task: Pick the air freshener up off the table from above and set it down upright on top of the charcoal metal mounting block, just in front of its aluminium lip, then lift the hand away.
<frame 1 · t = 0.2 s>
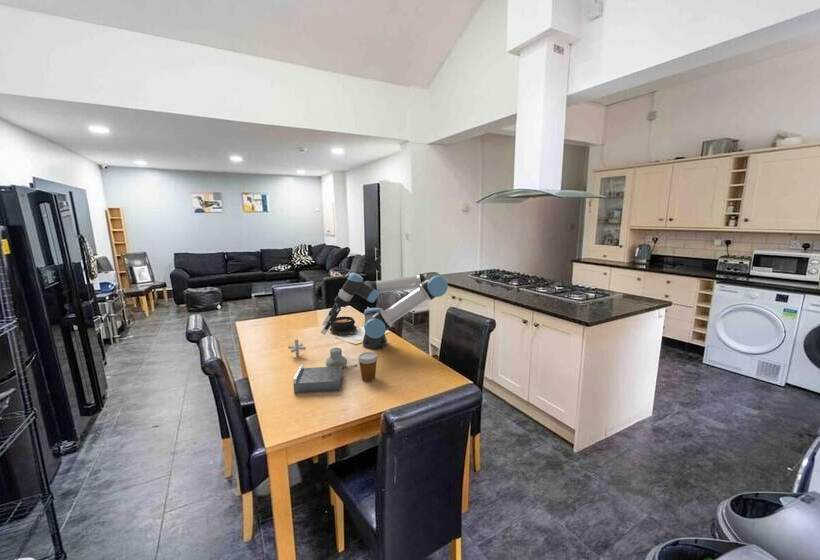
hand: (323, 329, 196), 16 cm above the table, tool tilted 35°, fingers open, 13 cm apart
disposable coffee cup: (368, 379, 170), on the table
mounting block: (319, 384, 165), on the table
casserole: (343, 331, 242), on the table
air freshener: (336, 367, 183), on the table
pipe connector: (297, 356, 199), on the table
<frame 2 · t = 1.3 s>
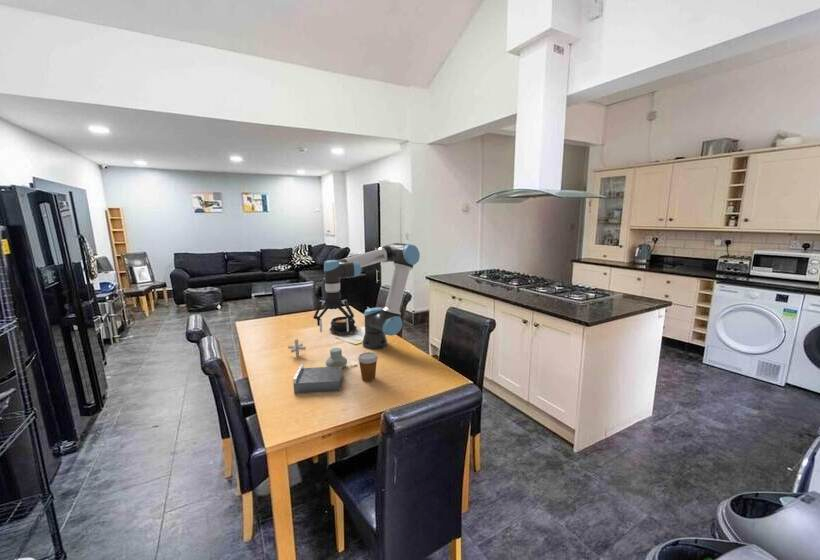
hand: (334, 331, 180), 20 cm above the table, tool pointing down, fingers open, 13 cm apart
nothing on the table moved.
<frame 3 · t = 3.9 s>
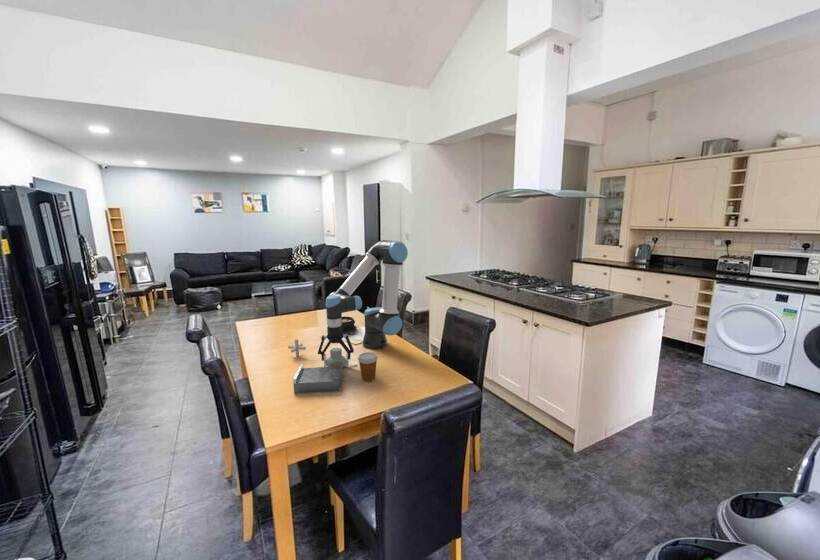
hand: (336, 365, 183), 1 cm above the table, tool pointing down, fingers closed on air freshener, 11 cm apart
air freshener: (336, 367, 183), on the table, touching gripper
everything else where it was.
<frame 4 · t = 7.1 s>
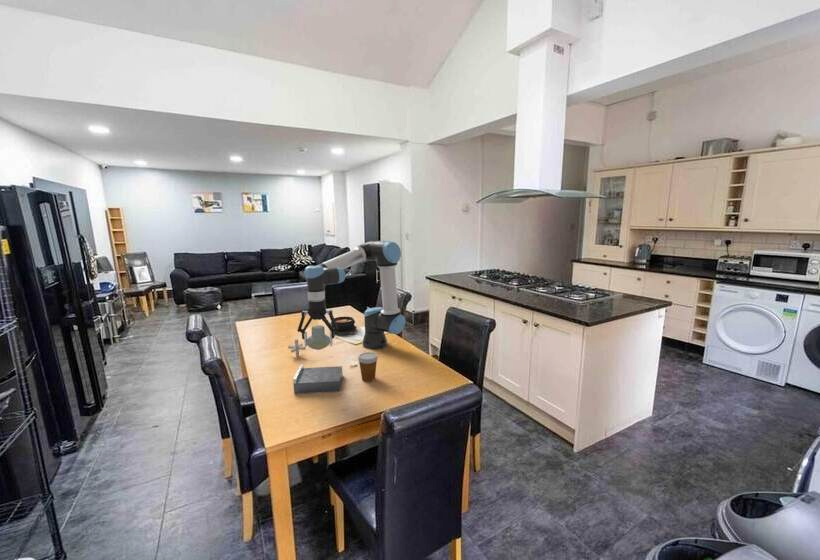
hand: (318, 345, 164), 19 cm above the table, tool pointing down, fingers closed on air freshener, 11 cm apart
air freshener: (318, 347, 164), point 17 cm above the table, touching gripper
everything else where it was.
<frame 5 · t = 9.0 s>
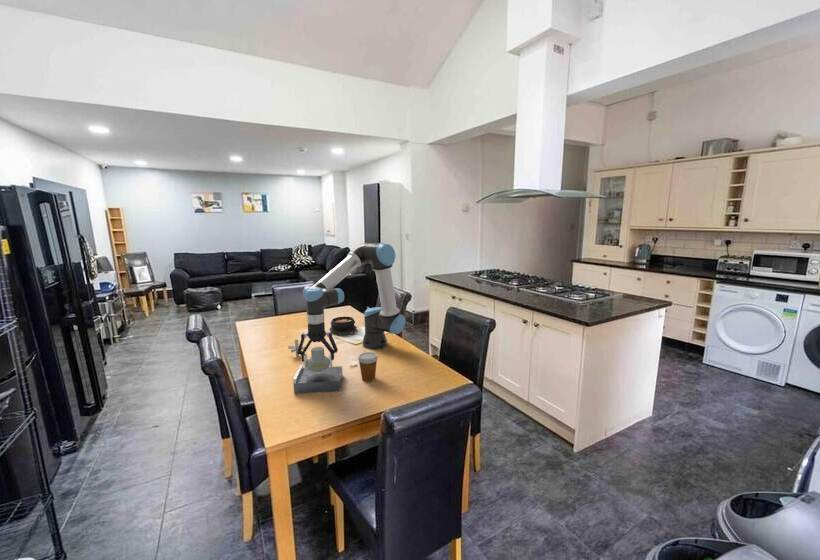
hand: (318, 367, 164), 9 cm above the table, tool pointing down, fingers closed on air freshener, 11 cm apart
air freshener: (318, 369, 164), point 7 cm above the table, touching gripper
everything else where it was.
when the fingers open (7 cm above the table, at t = 10.3 s): air freshener drops 1 cm, resting on mounting block.
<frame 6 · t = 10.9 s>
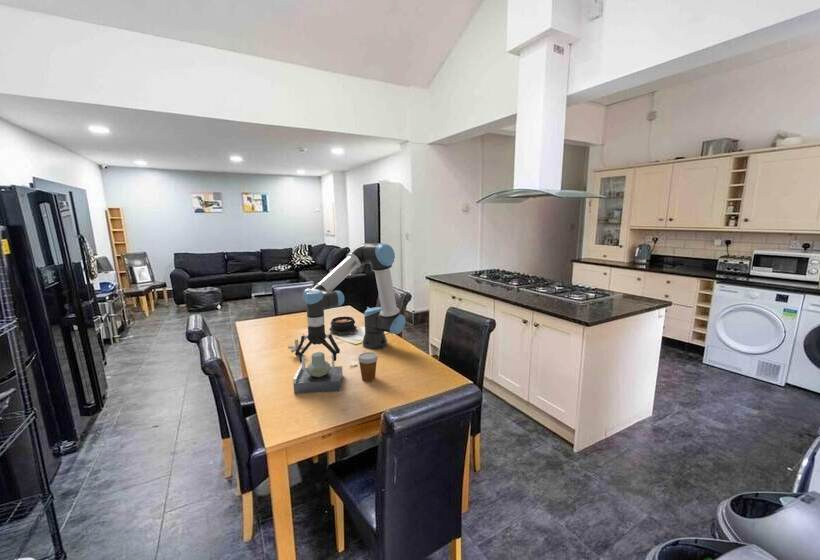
hand: (318, 368, 164), 8 cm above the table, tool pointing down, fingers open, 13 cm apart
air freshener: (319, 374, 164), point 5 cm above the table, touching mounting block
everything else where it was.
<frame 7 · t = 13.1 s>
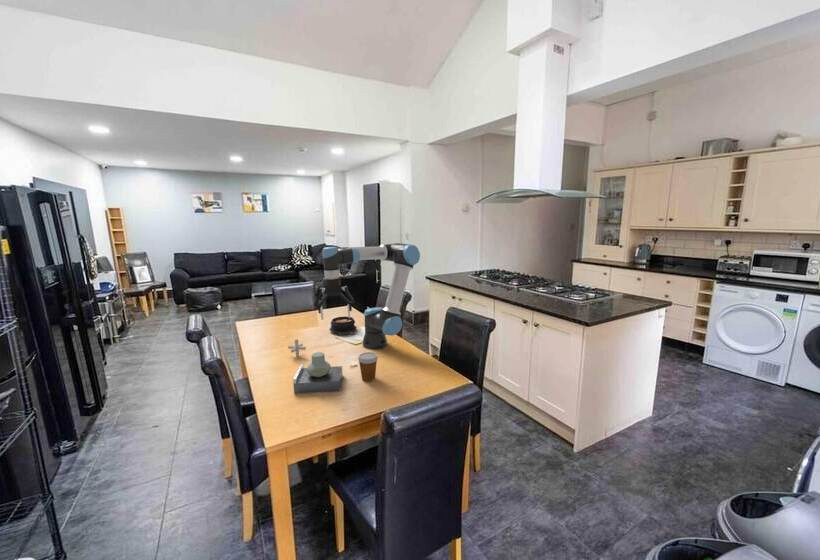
hand: (335, 318, 179), 27 cm above the table, tool pointing down, fingers open, 13 cm apart
nothing on the table moved.
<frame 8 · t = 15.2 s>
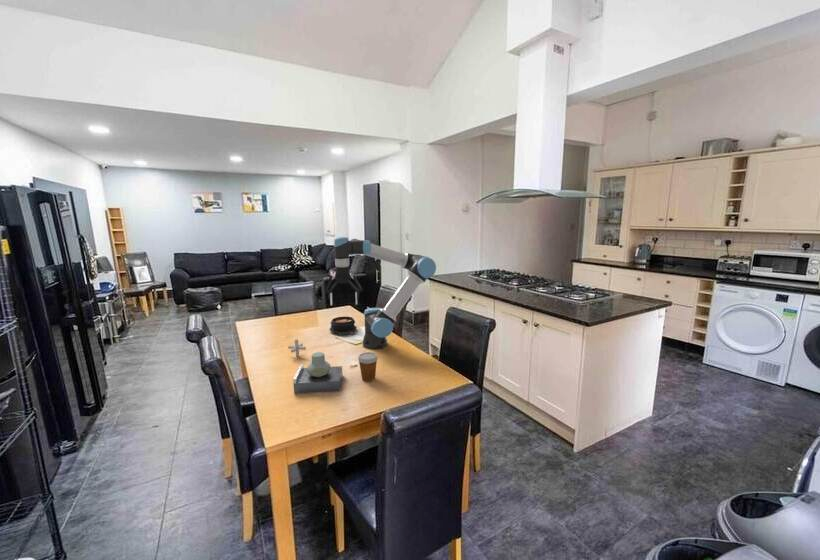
hand: (344, 304, 191), 31 cm above the table, tool pointing down, fingers open, 13 cm apart
nothing on the table moved.
at the end: air freshener inside the target area on the mounting block (0.0 cm from its centre), point 4.8 cm above the mounting block's base; air freshener tilted 0°; the gripper is holding nothing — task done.
